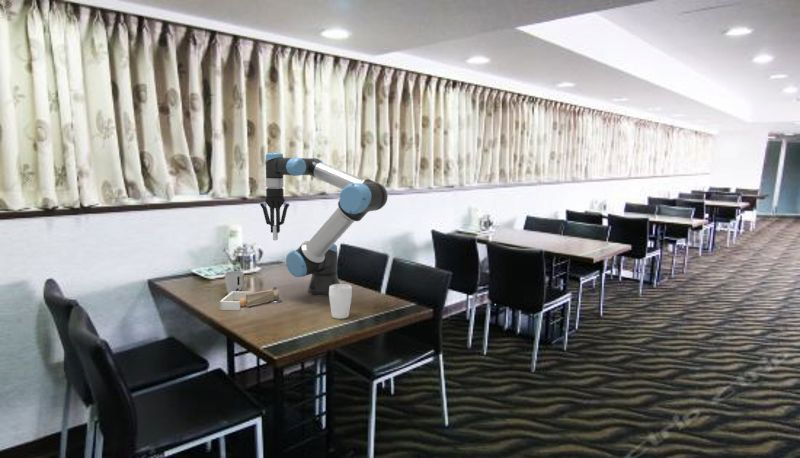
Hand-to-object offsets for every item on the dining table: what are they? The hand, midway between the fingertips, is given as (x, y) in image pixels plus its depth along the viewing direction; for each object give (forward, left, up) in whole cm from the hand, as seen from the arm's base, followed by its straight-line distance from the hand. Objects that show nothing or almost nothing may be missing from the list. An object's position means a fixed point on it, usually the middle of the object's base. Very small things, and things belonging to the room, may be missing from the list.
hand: (275, 239), depth 210 cm
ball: (+9, +22, -23) cm, 33 cm away
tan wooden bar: (+1, +18, -24) cm, 30 cm away
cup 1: (+17, +6, -25) cm, 31 cm away
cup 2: (-33, +32, -25) cm, 52 cm away
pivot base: (-3, +14, -24) cm, 28 cm away
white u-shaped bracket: (+12, +20, -24) cm, 34 cm away
